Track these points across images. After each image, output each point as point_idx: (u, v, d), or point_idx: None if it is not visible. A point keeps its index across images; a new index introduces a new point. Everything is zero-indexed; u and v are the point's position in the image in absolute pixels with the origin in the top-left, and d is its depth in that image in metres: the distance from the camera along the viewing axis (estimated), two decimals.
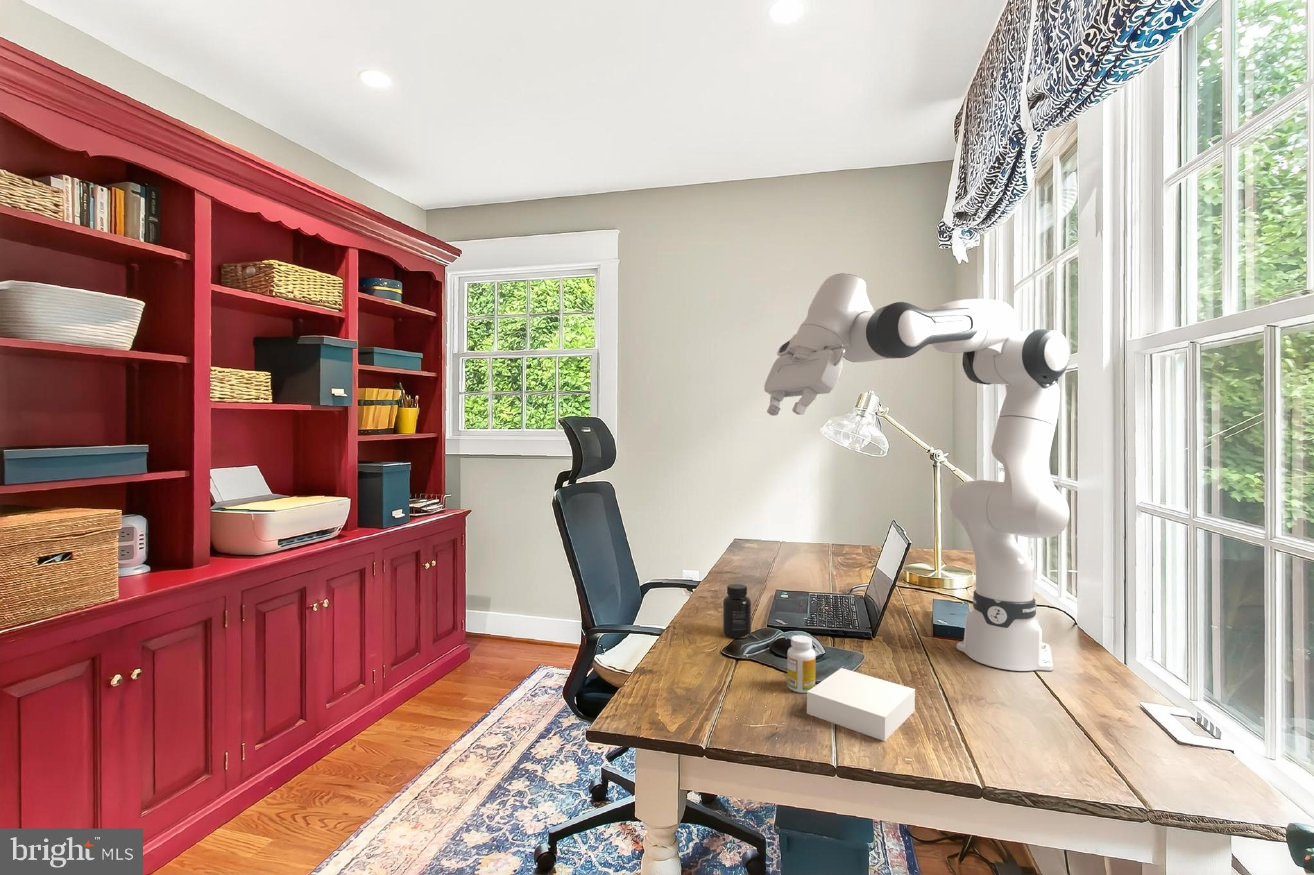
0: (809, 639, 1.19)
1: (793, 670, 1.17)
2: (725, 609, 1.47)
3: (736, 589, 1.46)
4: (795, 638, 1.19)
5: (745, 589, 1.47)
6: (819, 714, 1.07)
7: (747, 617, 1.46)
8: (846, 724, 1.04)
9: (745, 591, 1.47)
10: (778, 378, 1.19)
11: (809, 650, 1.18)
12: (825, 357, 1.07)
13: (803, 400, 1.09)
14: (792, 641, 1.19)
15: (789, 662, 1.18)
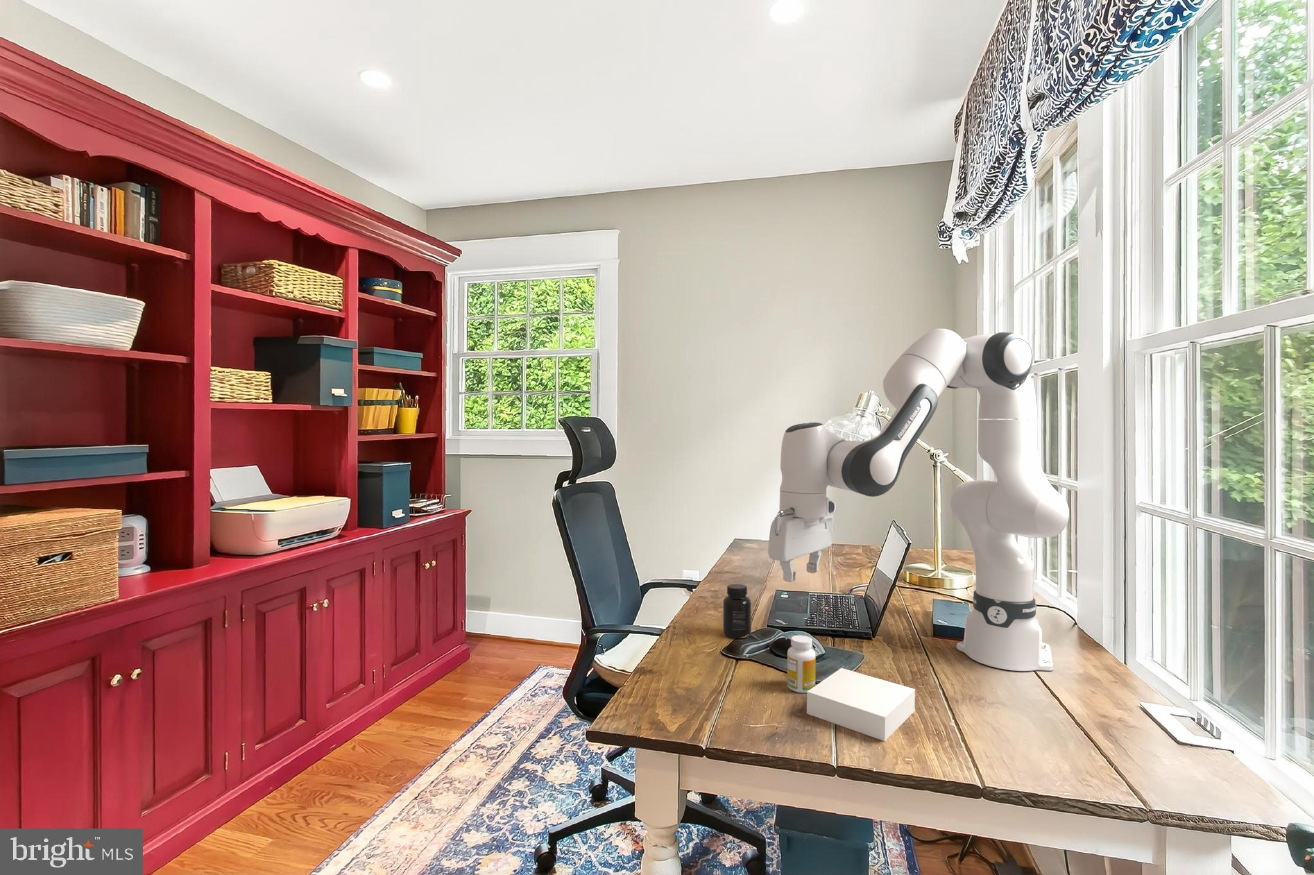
0: (809, 639, 1.19)
1: (793, 670, 1.17)
2: (725, 609, 1.47)
3: (736, 589, 1.46)
4: (795, 638, 1.19)
5: (745, 589, 1.47)
6: (819, 714, 1.07)
7: (747, 617, 1.46)
8: (846, 724, 1.04)
9: (745, 591, 1.47)
10: None
11: (809, 650, 1.18)
12: None
13: (783, 569, 1.15)
14: (792, 641, 1.19)
15: (789, 662, 1.18)
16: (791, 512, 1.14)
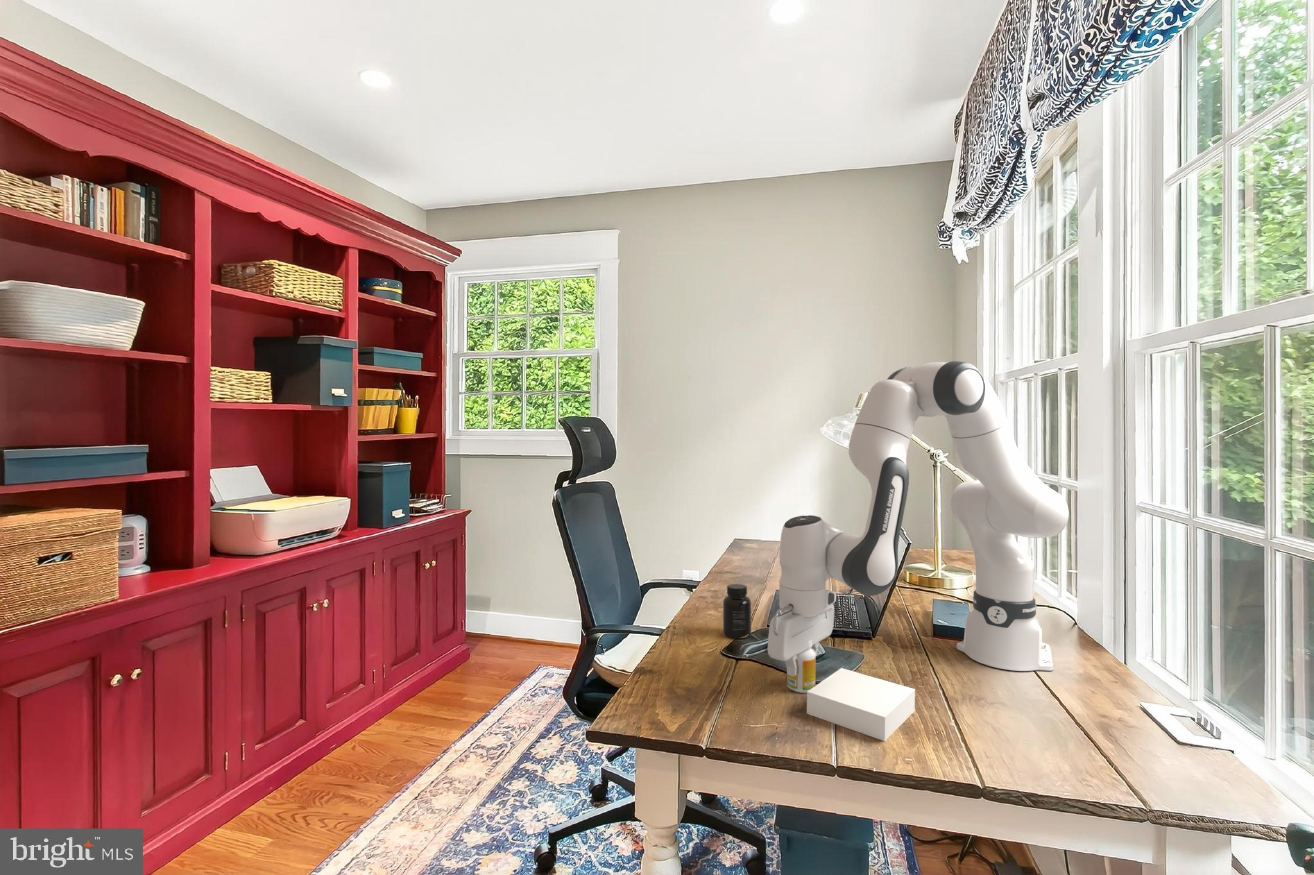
0: None
1: None
2: (725, 609, 1.47)
3: (736, 589, 1.46)
4: None
5: (745, 589, 1.47)
6: (819, 714, 1.07)
7: (747, 617, 1.46)
8: (846, 724, 1.04)
9: (745, 591, 1.47)
10: None
11: (809, 650, 1.18)
12: None
13: (787, 663, 1.16)
14: None
15: None
16: (790, 609, 1.15)
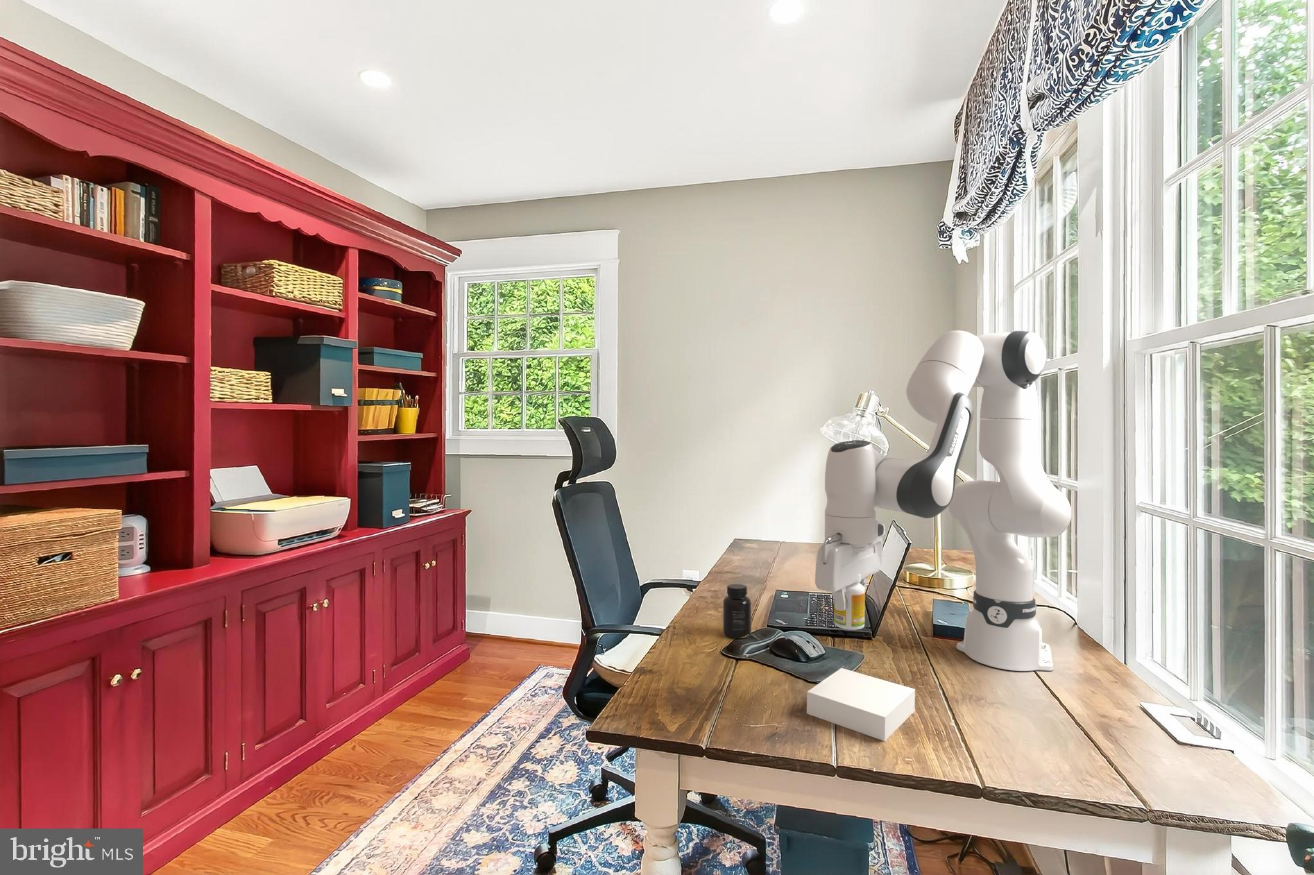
0: None
1: None
2: (725, 609, 1.47)
3: (736, 589, 1.46)
4: None
5: (745, 589, 1.47)
6: (819, 714, 1.07)
7: (747, 617, 1.46)
8: (846, 724, 1.04)
9: (745, 591, 1.47)
10: None
11: (858, 584, 1.10)
12: None
13: (835, 597, 1.08)
14: None
15: None
16: (839, 538, 1.06)
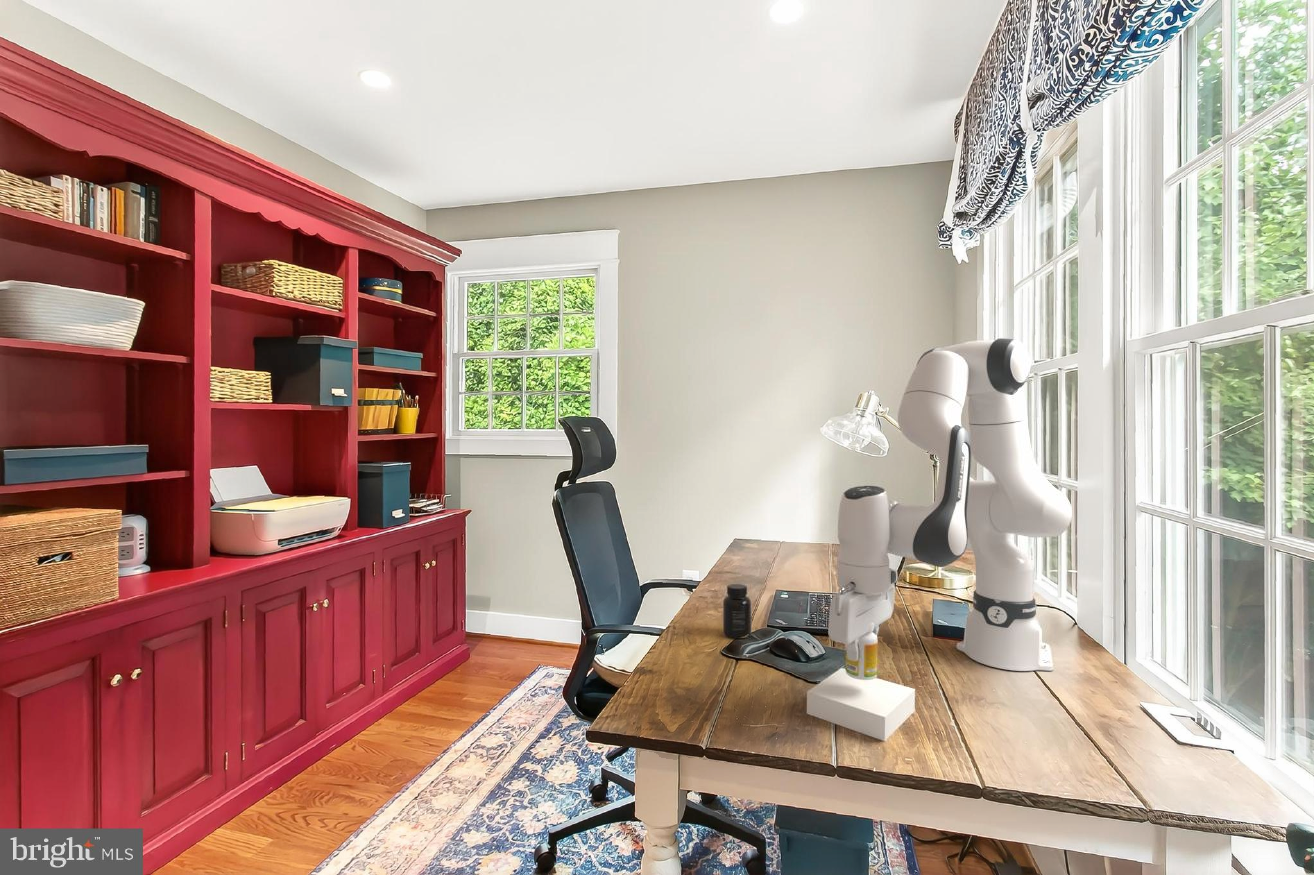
0: None
1: None
2: (725, 609, 1.47)
3: (736, 589, 1.46)
4: None
5: (745, 589, 1.47)
6: (819, 714, 1.07)
7: (747, 617, 1.46)
8: (846, 724, 1.04)
9: (745, 591, 1.47)
10: None
11: (870, 633, 1.08)
12: None
13: (847, 647, 1.06)
14: None
15: None
16: (852, 587, 1.04)
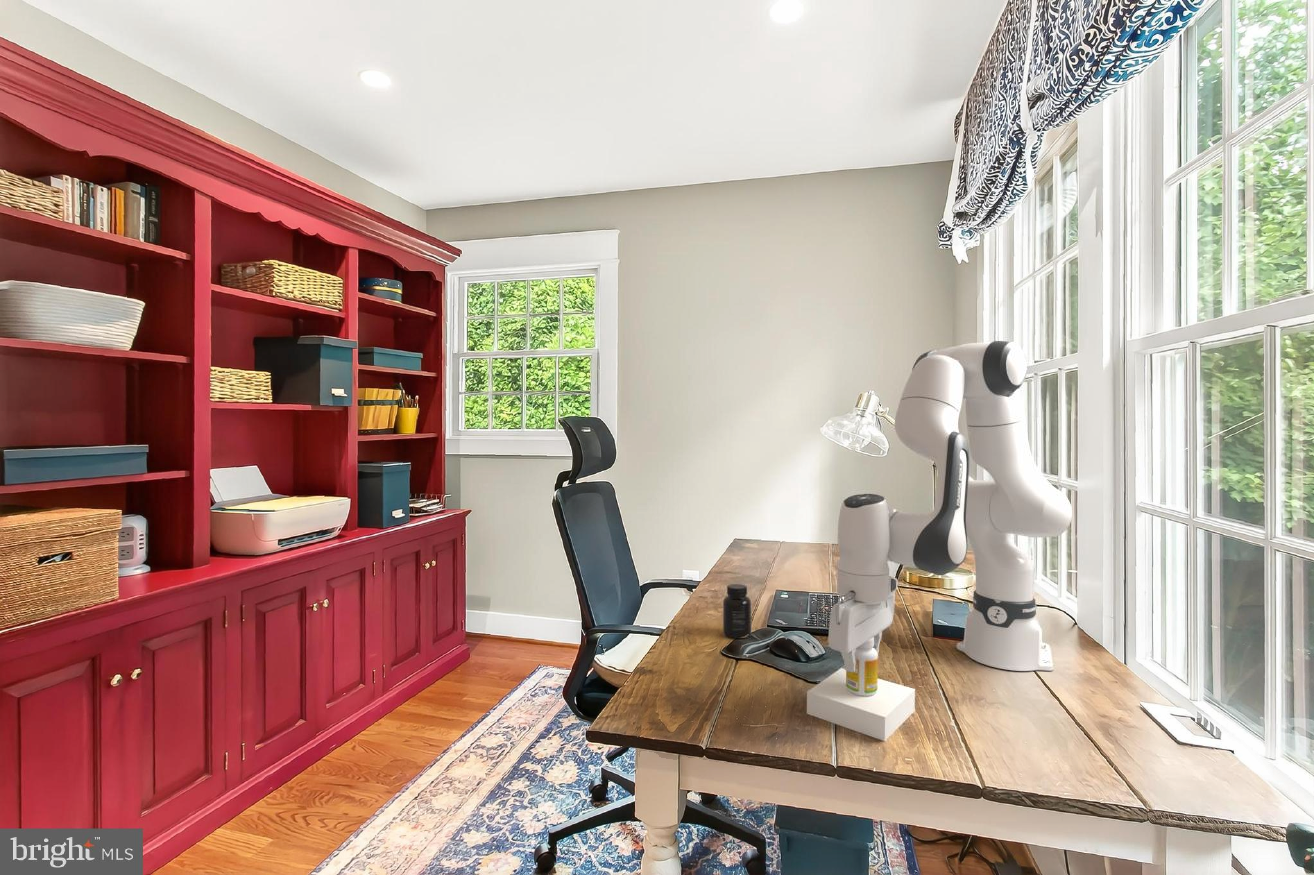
0: None
1: None
2: (725, 609, 1.47)
3: (736, 589, 1.46)
4: None
5: (745, 589, 1.47)
6: (819, 714, 1.07)
7: (747, 617, 1.46)
8: (846, 724, 1.04)
9: (745, 591, 1.47)
10: None
11: (871, 649, 1.08)
12: None
13: (844, 658, 1.05)
14: None
15: None
16: (852, 596, 1.04)
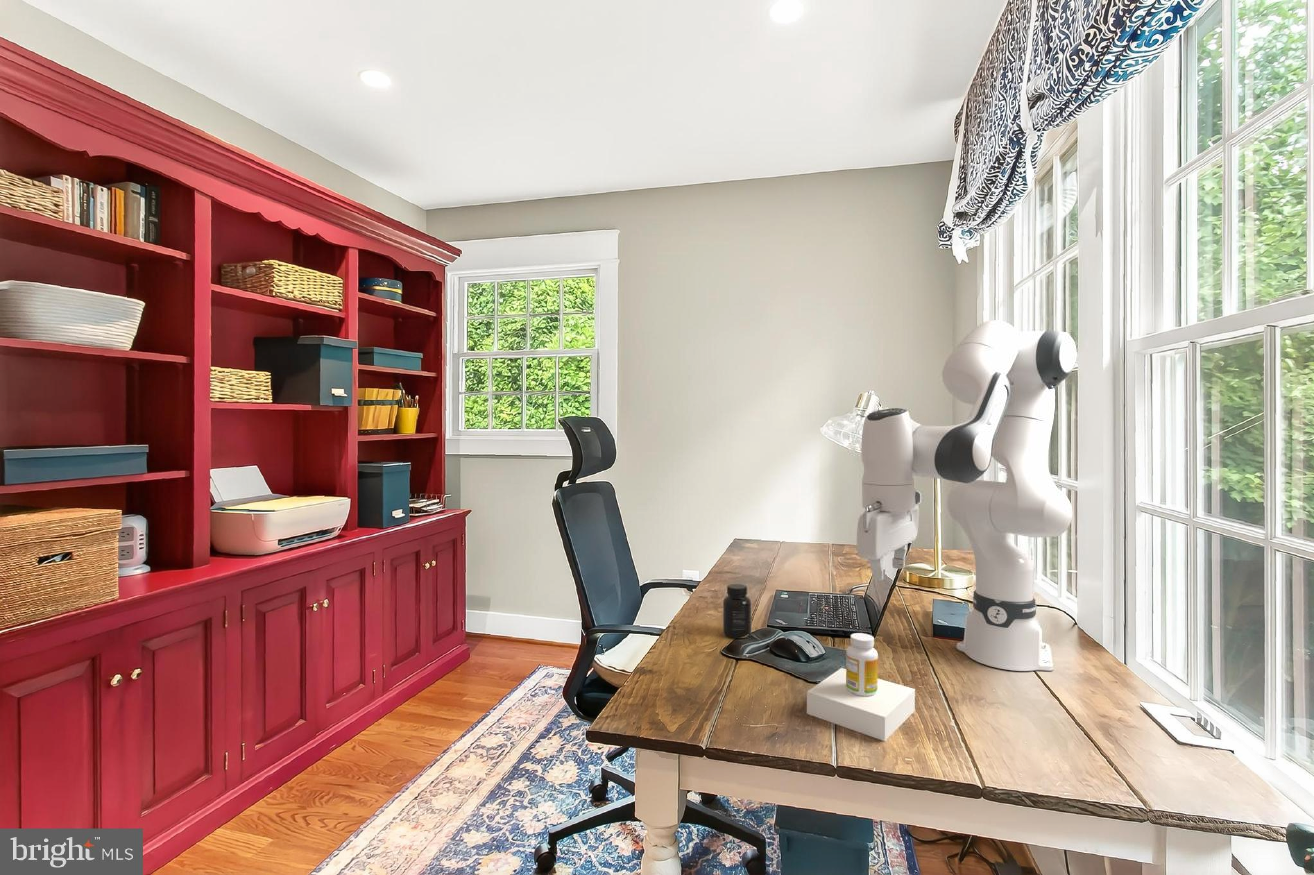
0: (871, 637, 1.09)
1: (854, 670, 1.07)
2: (725, 609, 1.47)
3: (736, 589, 1.46)
4: (855, 636, 1.09)
5: (745, 589, 1.47)
6: (819, 714, 1.07)
7: (747, 617, 1.46)
8: (846, 724, 1.04)
9: (745, 591, 1.47)
10: None
11: (871, 649, 1.08)
12: None
13: (872, 567, 1.07)
14: (852, 639, 1.09)
15: (849, 662, 1.08)
16: (878, 506, 1.06)
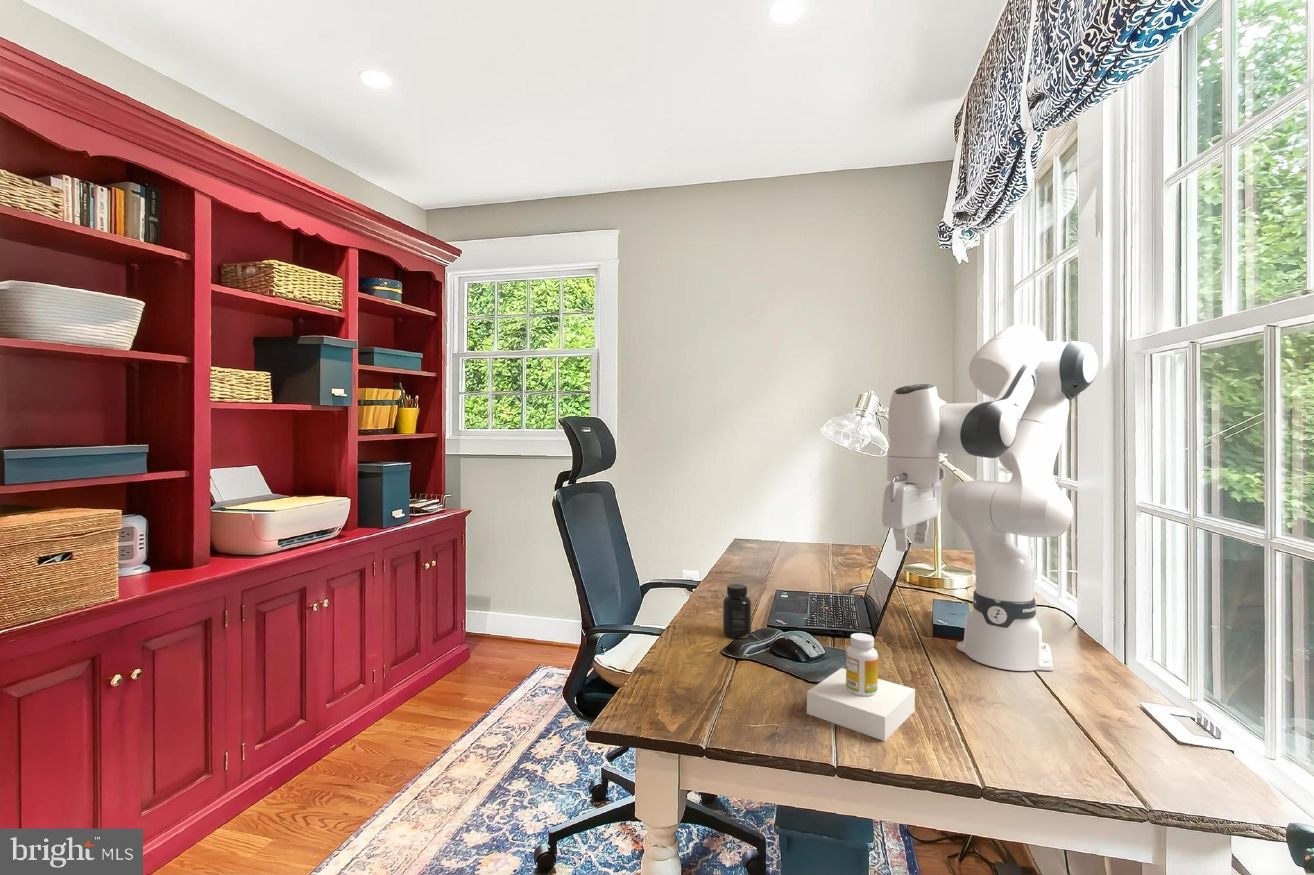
0: (871, 637, 1.09)
1: (854, 670, 1.07)
2: (725, 609, 1.47)
3: (736, 589, 1.46)
4: (855, 636, 1.09)
5: (745, 589, 1.47)
6: (819, 714, 1.07)
7: (747, 617, 1.46)
8: (846, 724, 1.04)
9: (745, 591, 1.47)
10: None
11: (871, 649, 1.08)
12: None
13: (896, 538, 1.09)
14: (852, 639, 1.09)
15: (849, 662, 1.08)
16: (905, 478, 1.08)
